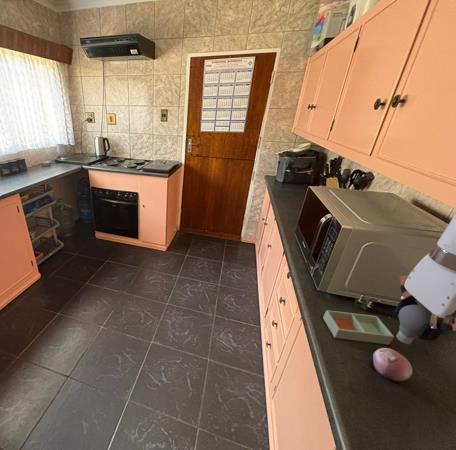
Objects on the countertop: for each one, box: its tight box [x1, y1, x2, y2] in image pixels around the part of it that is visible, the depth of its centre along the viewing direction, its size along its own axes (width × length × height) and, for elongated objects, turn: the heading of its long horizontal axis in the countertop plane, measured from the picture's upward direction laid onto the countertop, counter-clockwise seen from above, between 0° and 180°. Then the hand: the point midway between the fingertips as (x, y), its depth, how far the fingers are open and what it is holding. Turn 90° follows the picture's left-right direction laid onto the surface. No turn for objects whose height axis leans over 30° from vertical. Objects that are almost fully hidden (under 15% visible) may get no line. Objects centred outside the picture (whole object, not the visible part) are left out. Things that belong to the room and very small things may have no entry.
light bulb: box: [395, 304, 432, 345], centre depth 55 cm, size 6×6×10 cm
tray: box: [322, 309, 395, 346], centre depth 78 cm, size 16×8×4 cm, turn 82°
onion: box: [372, 347, 413, 382], centre depth 66 cm, size 8×8×7 cm
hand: (413, 325), depth 55 cm, fingers closed on light bulb, 6 cm apart
